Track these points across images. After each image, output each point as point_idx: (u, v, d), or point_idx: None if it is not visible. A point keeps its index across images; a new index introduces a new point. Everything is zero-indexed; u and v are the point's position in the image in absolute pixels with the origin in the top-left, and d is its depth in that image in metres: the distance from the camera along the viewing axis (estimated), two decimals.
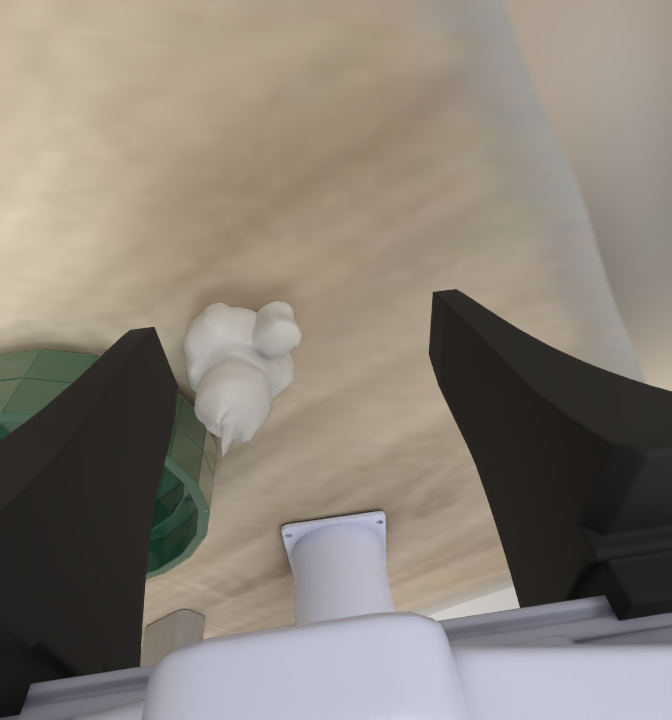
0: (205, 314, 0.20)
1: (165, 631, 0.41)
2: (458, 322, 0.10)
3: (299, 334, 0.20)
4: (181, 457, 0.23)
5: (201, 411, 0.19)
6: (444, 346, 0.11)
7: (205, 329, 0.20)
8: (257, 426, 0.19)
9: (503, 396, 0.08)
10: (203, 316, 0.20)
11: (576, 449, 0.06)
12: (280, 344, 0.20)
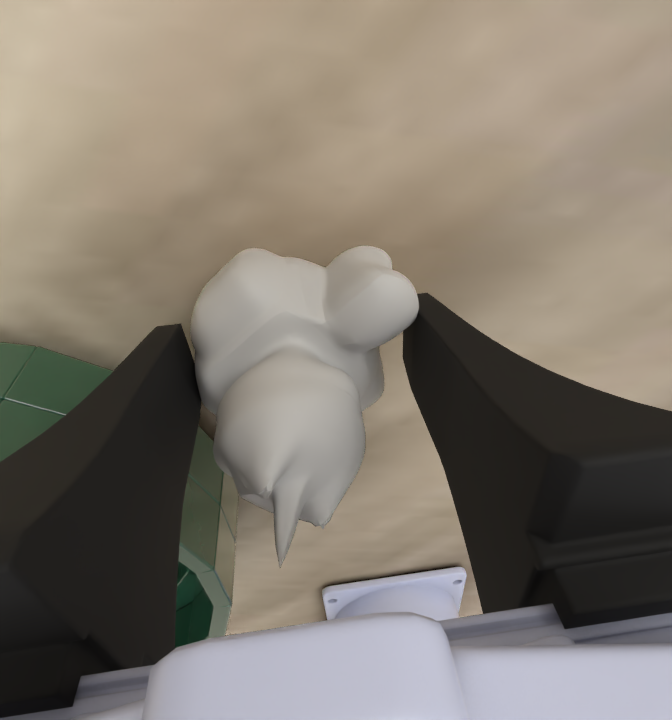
0: (233, 265, 0.10)
1: None
2: (425, 326, 0.10)
3: (417, 303, 0.10)
4: (185, 526, 0.13)
5: (230, 460, 0.09)
6: (414, 350, 0.11)
7: (235, 292, 0.10)
8: (344, 489, 0.09)
9: (464, 401, 0.08)
10: (229, 269, 0.10)
11: (523, 457, 0.06)
12: (383, 322, 0.10)
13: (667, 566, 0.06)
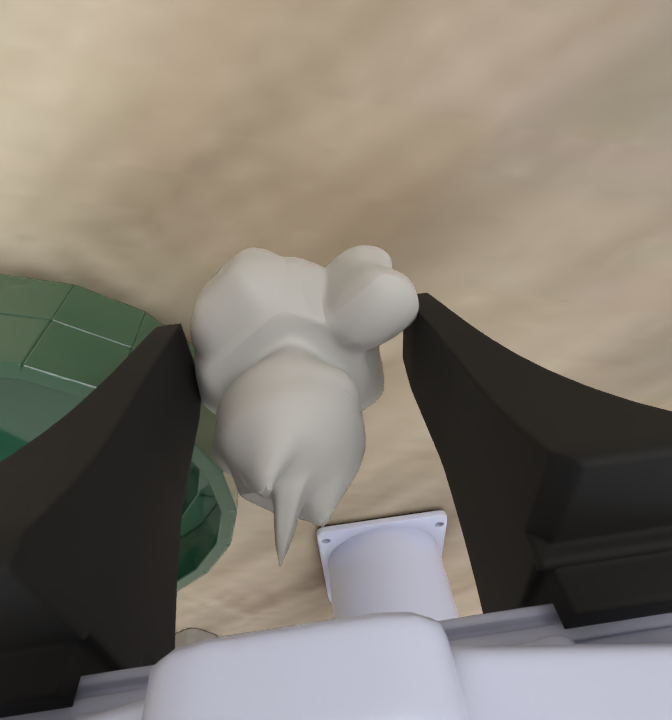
0: (233, 265, 0.10)
1: None
2: (425, 326, 0.10)
3: (417, 303, 0.10)
4: (199, 433, 0.16)
5: (230, 459, 0.09)
6: (414, 350, 0.11)
7: (236, 292, 0.10)
8: (344, 488, 0.09)
9: (464, 401, 0.08)
10: (230, 268, 0.10)
11: (523, 457, 0.06)
12: (383, 321, 0.10)
13: (667, 566, 0.06)
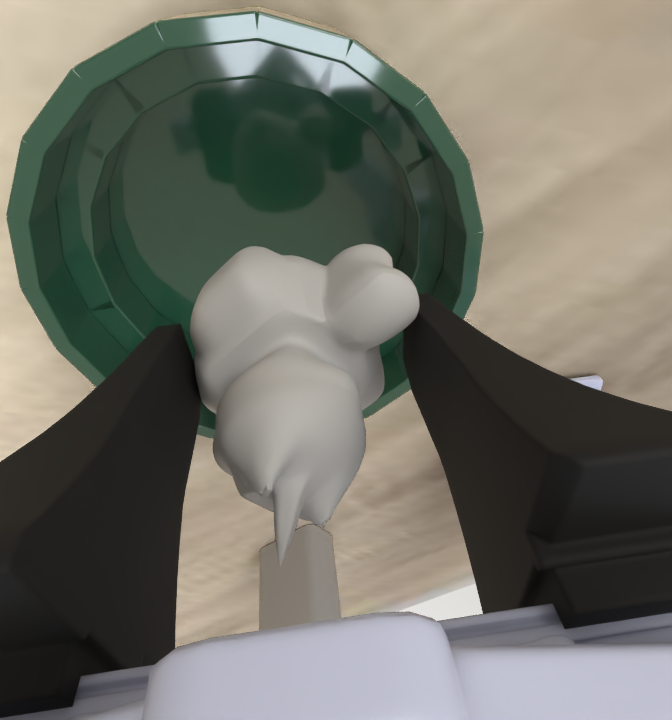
0: (233, 263, 0.10)
1: (291, 550, 0.33)
2: (425, 326, 0.10)
3: (418, 302, 0.10)
4: None
5: (230, 458, 0.09)
6: (414, 350, 0.11)
7: (235, 290, 0.10)
8: (344, 488, 0.09)
9: (464, 401, 0.08)
10: (229, 267, 0.10)
11: (523, 457, 0.06)
12: (383, 320, 0.10)
13: (667, 566, 0.06)
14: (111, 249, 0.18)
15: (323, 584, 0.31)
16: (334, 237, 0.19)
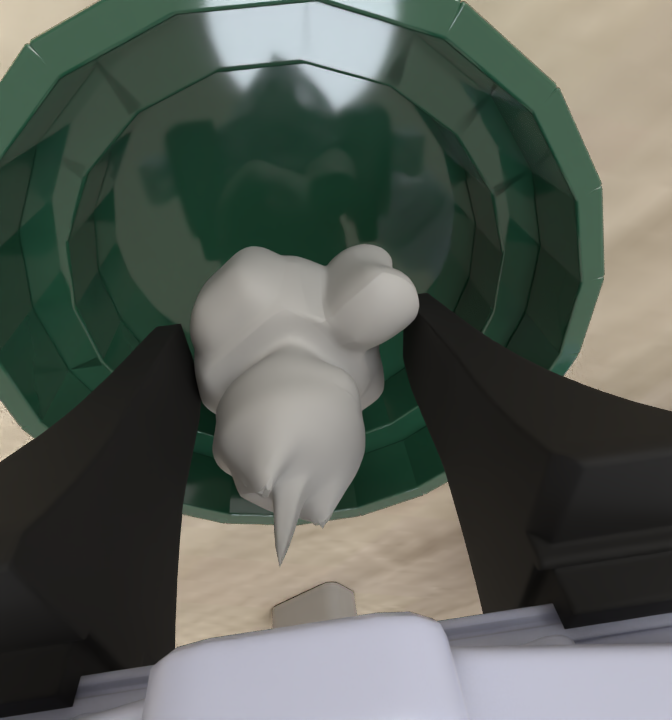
0: (233, 263, 0.10)
1: (309, 612, 0.29)
2: (425, 326, 0.10)
3: (417, 302, 0.10)
4: None
5: (229, 459, 0.09)
6: (414, 349, 0.11)
7: (235, 290, 0.10)
8: (344, 488, 0.09)
9: (464, 401, 0.08)
10: (229, 267, 0.10)
11: (523, 457, 0.06)
12: (383, 320, 0.10)
13: (667, 566, 0.06)
14: (98, 289, 0.14)
15: None
16: None
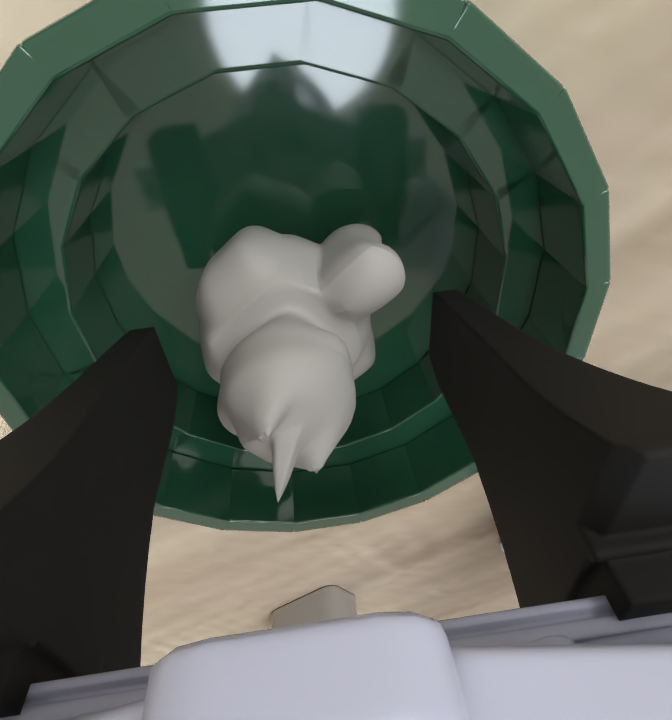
0: (235, 240, 0.11)
1: (309, 616, 0.29)
2: (458, 322, 0.10)
3: (404, 274, 0.11)
4: None
5: (233, 411, 0.10)
6: (443, 346, 0.11)
7: (237, 263, 0.11)
8: (336, 439, 0.10)
9: (503, 396, 0.08)
10: (232, 243, 0.11)
11: (576, 449, 0.06)
12: (372, 290, 0.11)
13: None
14: (95, 293, 0.14)
15: None
16: None
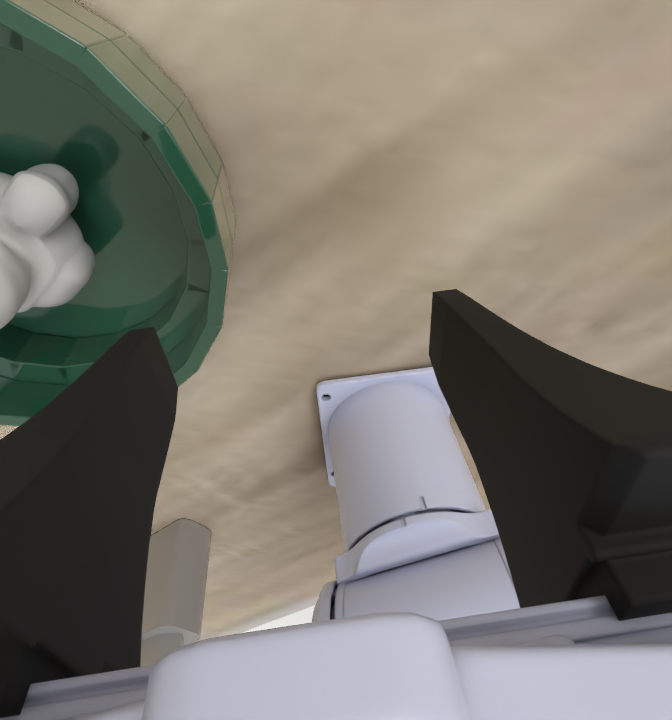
0: None
1: (161, 545, 0.32)
2: (458, 322, 0.10)
3: (59, 197, 0.15)
4: (185, 147, 0.14)
5: None
6: (444, 345, 0.11)
7: None
8: None
9: (503, 396, 0.08)
10: None
11: (576, 449, 0.06)
12: (28, 207, 0.14)
13: None
14: None
15: (183, 580, 0.30)
16: (116, 214, 0.19)
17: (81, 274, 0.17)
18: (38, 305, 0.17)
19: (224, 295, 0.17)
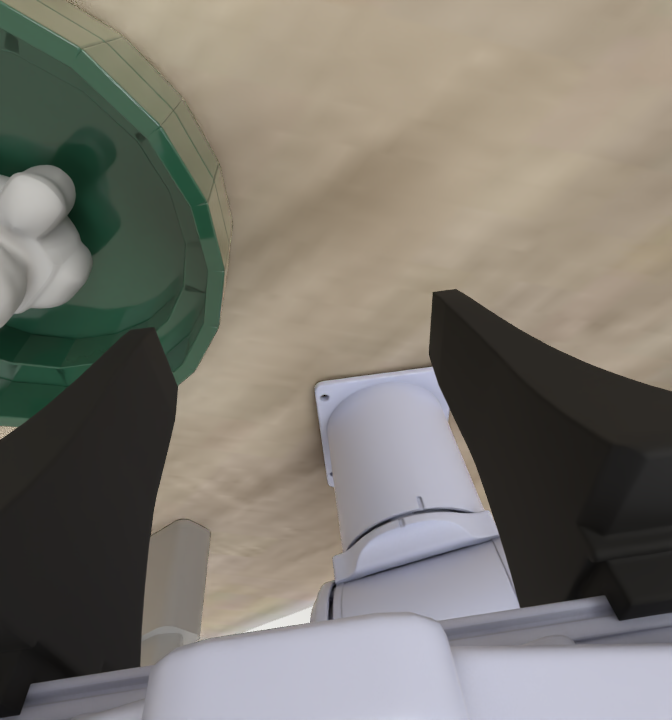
0: None
1: (160, 545, 0.32)
2: (458, 322, 0.10)
3: (56, 198, 0.15)
4: (181, 148, 0.14)
5: None
6: (444, 345, 0.11)
7: None
8: None
9: (503, 396, 0.08)
10: None
11: (576, 449, 0.06)
12: (24, 209, 0.14)
13: None
14: None
15: (183, 580, 0.30)
16: (113, 215, 0.19)
17: (78, 275, 0.17)
18: (35, 306, 0.17)
19: (221, 296, 0.17)
